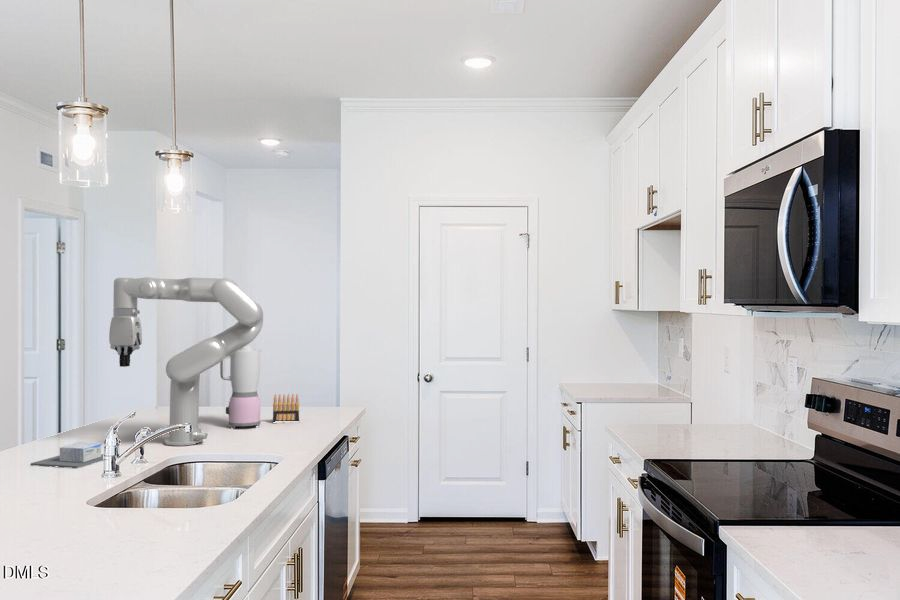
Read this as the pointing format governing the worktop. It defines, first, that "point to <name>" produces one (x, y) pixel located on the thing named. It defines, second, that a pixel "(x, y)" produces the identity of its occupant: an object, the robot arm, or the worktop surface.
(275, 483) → the worktop surface
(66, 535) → the worktop surface
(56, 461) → the mat
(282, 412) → the ammunition clip
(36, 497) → the worktop surface
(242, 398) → the blender
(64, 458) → the medicine box
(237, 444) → the worktop surface
